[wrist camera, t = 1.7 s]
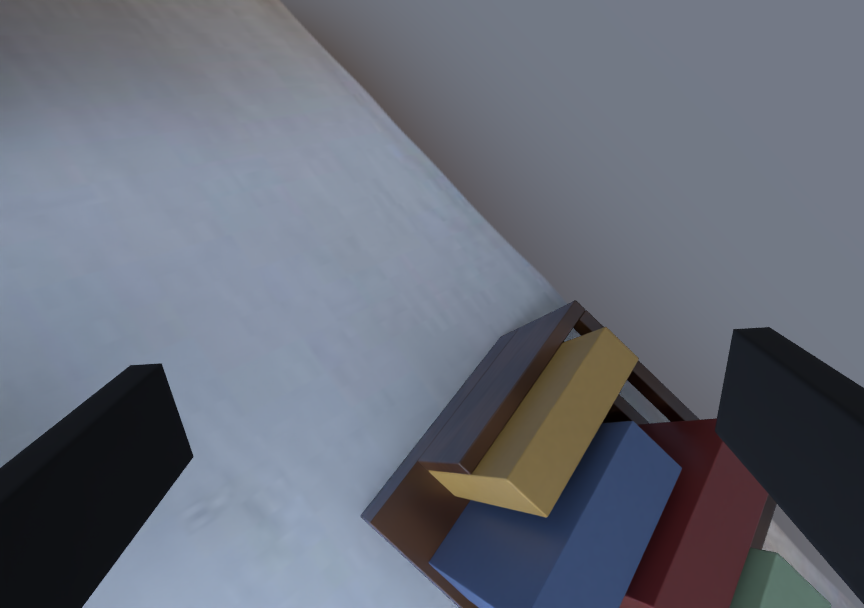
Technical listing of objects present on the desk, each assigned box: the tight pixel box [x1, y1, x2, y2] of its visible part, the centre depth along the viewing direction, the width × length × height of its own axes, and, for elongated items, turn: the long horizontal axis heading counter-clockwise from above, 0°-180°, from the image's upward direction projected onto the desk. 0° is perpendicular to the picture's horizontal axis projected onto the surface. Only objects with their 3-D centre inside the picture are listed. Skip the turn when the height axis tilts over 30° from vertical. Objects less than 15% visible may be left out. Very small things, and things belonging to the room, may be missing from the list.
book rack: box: [361, 301, 777, 608], centre depth 26 cm, size 15×16×9 cm
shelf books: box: [429, 327, 768, 608], centre depth 23 cm, size 9×10×10 cm
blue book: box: [429, 421, 682, 608], centre depth 22 cm, size 9×3×10 cm, turn 140°
